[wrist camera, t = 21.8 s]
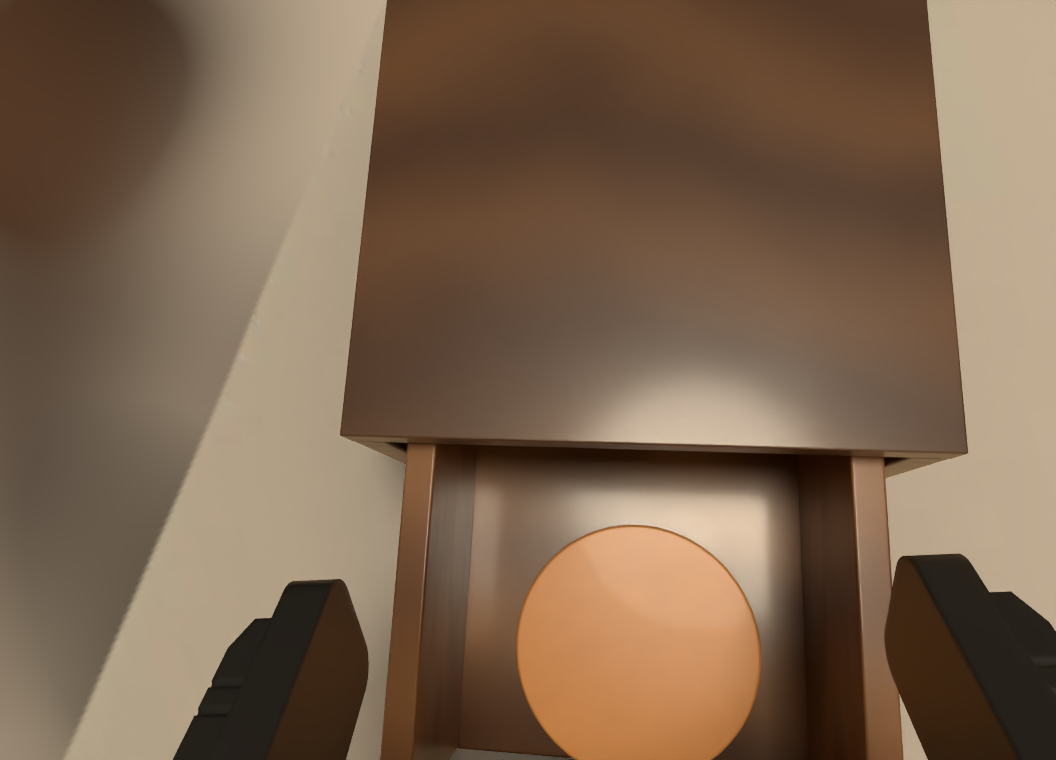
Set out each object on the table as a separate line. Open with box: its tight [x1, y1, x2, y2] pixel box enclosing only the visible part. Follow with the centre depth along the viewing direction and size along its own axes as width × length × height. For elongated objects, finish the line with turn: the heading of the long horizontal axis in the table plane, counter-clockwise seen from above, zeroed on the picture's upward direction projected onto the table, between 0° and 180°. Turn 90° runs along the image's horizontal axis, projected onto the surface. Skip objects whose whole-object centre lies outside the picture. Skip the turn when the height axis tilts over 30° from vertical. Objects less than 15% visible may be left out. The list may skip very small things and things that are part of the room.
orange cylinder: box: [516, 525, 761, 760], centre depth 19 cm, size 5×5×8 cm
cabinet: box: [340, 0, 968, 478], centre depth 23 cm, size 15×15×9 cm
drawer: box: [380, 443, 903, 760], centre depth 20 cm, size 18×14×7 cm
